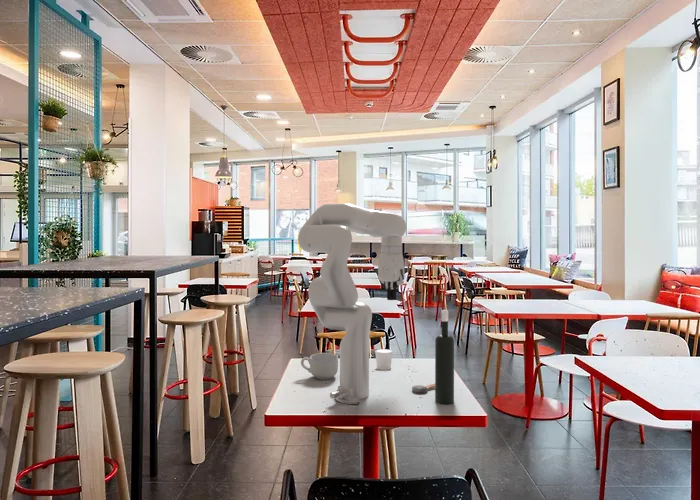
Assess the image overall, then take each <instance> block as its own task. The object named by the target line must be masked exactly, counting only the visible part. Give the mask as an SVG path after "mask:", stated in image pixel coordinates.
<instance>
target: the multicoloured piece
mask: <svg viewBox="0 0 700 500" xmlns="http://www.w3.org/2000/svg"><path fill="white" fill-rule="evenodd" d="M430 390H435V383H431V384H430V383H429V384H428V385H413V386H412V387H411V391H412V392H413V393H414V394H419V395H420V394H427V393H428V391H430Z"/></svg>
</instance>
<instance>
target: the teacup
mask: <svg viewBox="0 0 700 500" xmlns="http://www.w3.org/2000/svg"><path fill="white" fill-rule="evenodd" d="M304 361H308V364H309V367H308V366H306V365H305V363H304ZM300 365H301V366H302V368H304V370H306V371H308V373H310V374H311V375H312V377H315V379H317V380H325V381H326V380H331V379H333V378H334V376H336V374H337V373H338V368H339V356H338V355H337V354H335V353H330V352H319V353H313V354H311V355H310V356H309V357H308V356H305V357H302V359H301V361H300Z"/></svg>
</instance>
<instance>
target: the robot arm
mask: <svg viewBox="0 0 700 500" xmlns="http://www.w3.org/2000/svg"><path fill="white" fill-rule="evenodd" d="M406 230H407V223H406V220H405V219H404V218H403V217H402V216H401V215H399V214H397V213H392V212H385V211H380V210H375V209H369V208H364V207H361V206H359V205H358V206H357V205H355V204H352V203H347V202H346V203H325V204H322V205H321V206H319V207H318V208H317V209H316V210H315V211H314V212H313V213H312V214H311V215H310V216H309V218H308V219H307V220H306V222H305V223H304V224H303V225H302V227H301V228H300V230H299V232H298V235H297V236H298V237H297V241H298V245H299V247H300V248H301V250H303V251H304V252H307V253H327V255H326V258H325V260H324V261H323V263H322V265H321V267H320V271H319V272H320V273H319V274H320V276H318V277H315V278H314V279H312V280H311V282H310V283H309V285H308V290H307V291H308V301H309V302H310V305H311V307H312V309H313V311H314V313H315V314H316V316H317V318H318V320H319V322H320V324H321V325H322V326H323V327H324V328H326V329H330V330H338V331H344V332H345V334H344V336H343V337H342V338H341V341H340V344H339V385H338V386H337V389H336V391H335V390H334V391H332V392H329V393H330V394H329V397H330V398H331V399H334V400H336V401H337V402H339V403H341V404H346V405H360V400H361V399H362V400H363V399H366V398H368V397H369V396H370V333H371V332H370V331H371V326H372V325H371V324H372V321H373V319H372V318H373V312H372V309H371V307H370V306H369V305H368V304H366V303H365V302H364V303H363V302H359V301H358V298H359V293H358V289H357V287H356V284H355V282H354V280H353V277H352V276H351V273H350V270H349V268H348V262H349V261H348V259H349V255H350V253H351V247H352V242H353V235H352V233H356V234H360V235H368V236H370V237H373V238H381V247H380V251H381V254H379V258H378V266H377V279H378V280H379V281H380V283H381V284H383V285H384V286H385V290H386V300H387V301H395V300H397V290H398V288H399V286H401V285H403V284H404V280H405V261H404V256H403V252H402V251H403V243H402V241H403V239H402V238H403V236H404V235H405V233H406Z"/></svg>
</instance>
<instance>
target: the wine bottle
mask: <svg viewBox="0 0 700 500" xmlns="http://www.w3.org/2000/svg"><path fill="white" fill-rule="evenodd" d="M440 310H441V313H440V314H441V316H440V317H441V320H440V321H441V334H439V335H437V336H436V338H435V339H434V340H435V344H434V346H435V347H434V349H435V353H434V357H435V359H434V360H435V361H434V363H435V365H434V367H435V368H434V371H435V372H434V376H435V377H434V381H435V382H434V384H435V389H434V396H435V397H434V402H435V403H436V404H438V405H442V406H443V405H444V406H447V405H448V406H449V405H453V404H455V339H454V337H453V336H452V335H450V334H449V310H447V309H440Z"/></svg>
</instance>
